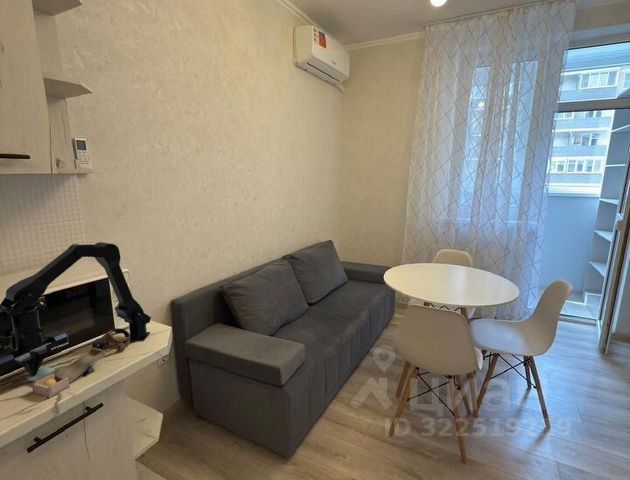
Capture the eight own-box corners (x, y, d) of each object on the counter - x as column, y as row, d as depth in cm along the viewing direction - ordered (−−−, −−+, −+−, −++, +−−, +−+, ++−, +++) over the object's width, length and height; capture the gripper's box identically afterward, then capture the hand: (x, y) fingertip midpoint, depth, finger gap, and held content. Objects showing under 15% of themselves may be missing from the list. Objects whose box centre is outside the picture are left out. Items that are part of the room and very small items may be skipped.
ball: (43, 378, 92) (40, 389, 92) (45, 380, 90) (42, 392, 90) (56, 377, 94) (53, 388, 94) (58, 380, 92) (55, 391, 92)
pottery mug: (113, 342, 122) (123, 324, 122) (127, 358, 119) (138, 340, 118) (81, 348, 111) (92, 329, 110) (95, 366, 108) (107, 346, 107)
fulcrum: (83, 368, 104) (82, 362, 104) (95, 371, 102) (94, 365, 102) (73, 373, 101) (73, 367, 101) (86, 376, 100) (85, 370, 99)
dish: (53, 382, 96) (52, 373, 96) (69, 386, 94) (68, 377, 94) (33, 393, 91) (31, 383, 91) (49, 398, 89) (48, 388, 89)
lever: (76, 348, 110) (74, 343, 109) (107, 355, 106) (105, 350, 105) (28, 381, 96) (25, 376, 96) (61, 391, 92) (59, 385, 91)
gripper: (42, 311, 105) (47, 356, 108) (-34, 336, 88) (-25, 388, 90) (67, 316, 102) (72, 362, 104) (-7, 342, 84) (2, 396, 87)
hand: (33, 375), depth 96 cm, fingers closed
